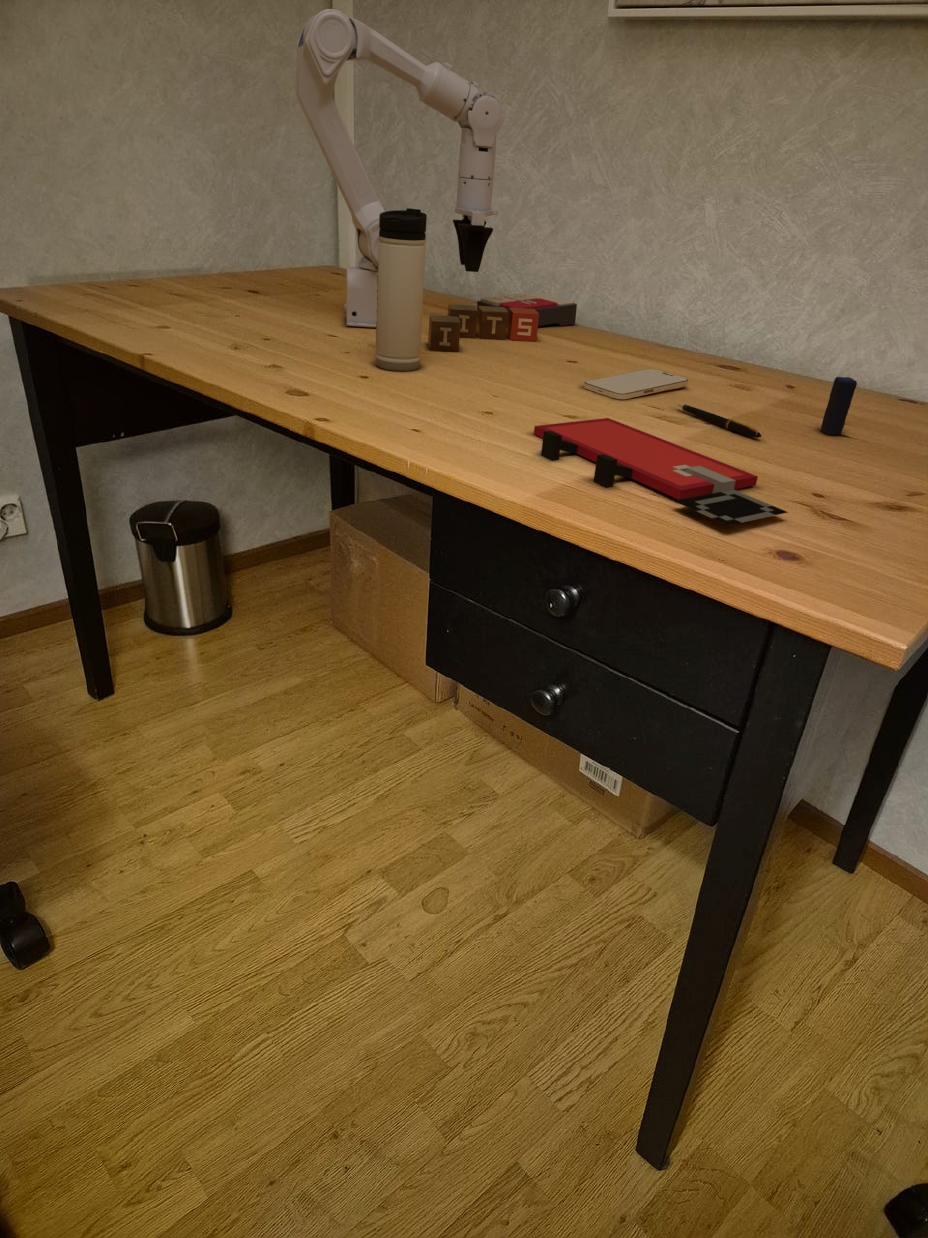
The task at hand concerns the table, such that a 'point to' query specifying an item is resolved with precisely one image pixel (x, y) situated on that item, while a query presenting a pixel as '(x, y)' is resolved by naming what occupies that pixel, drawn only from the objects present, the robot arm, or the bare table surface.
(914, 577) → the table surface
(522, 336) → the block
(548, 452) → the red board with handle
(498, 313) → the T block
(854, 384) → the eraser
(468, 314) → the dark brown cube block
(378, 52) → the robot arm
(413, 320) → the travel mug
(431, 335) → the I block front
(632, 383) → the smartphone
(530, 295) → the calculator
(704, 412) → the fountain pen
